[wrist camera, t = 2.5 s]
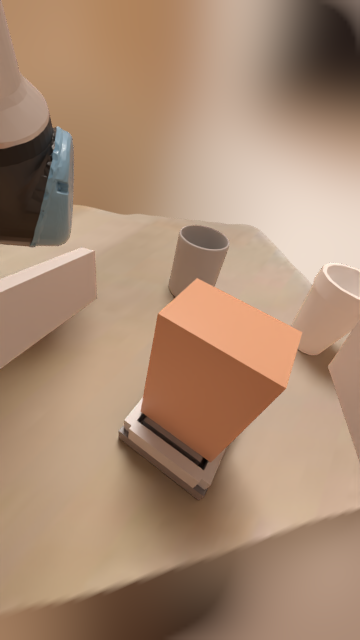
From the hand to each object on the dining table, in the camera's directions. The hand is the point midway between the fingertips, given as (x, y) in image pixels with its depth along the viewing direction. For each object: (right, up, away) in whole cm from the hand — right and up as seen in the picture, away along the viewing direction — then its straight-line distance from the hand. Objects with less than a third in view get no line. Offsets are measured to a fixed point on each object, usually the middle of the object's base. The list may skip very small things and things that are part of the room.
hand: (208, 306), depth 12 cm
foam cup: (+21, -4, +31) cm, 38 cm away
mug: (0, +6, +36) cm, 37 cm away
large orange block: (-1, -12, +14) cm, 18 cm away
